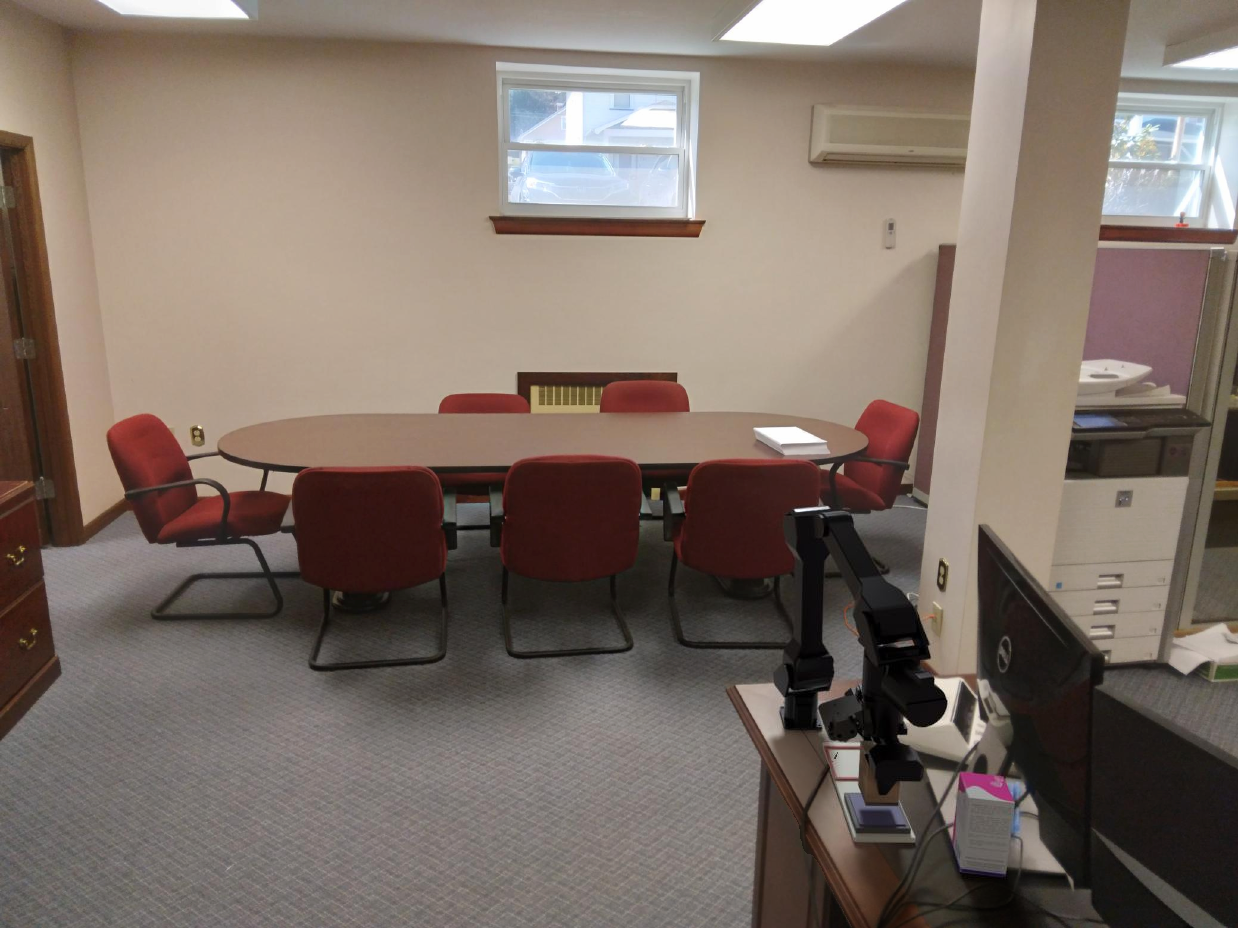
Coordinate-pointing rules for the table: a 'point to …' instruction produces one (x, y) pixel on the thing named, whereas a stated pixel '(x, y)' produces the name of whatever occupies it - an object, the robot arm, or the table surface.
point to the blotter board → (862, 818)
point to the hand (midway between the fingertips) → (877, 783)
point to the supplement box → (982, 824)
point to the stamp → (873, 782)
